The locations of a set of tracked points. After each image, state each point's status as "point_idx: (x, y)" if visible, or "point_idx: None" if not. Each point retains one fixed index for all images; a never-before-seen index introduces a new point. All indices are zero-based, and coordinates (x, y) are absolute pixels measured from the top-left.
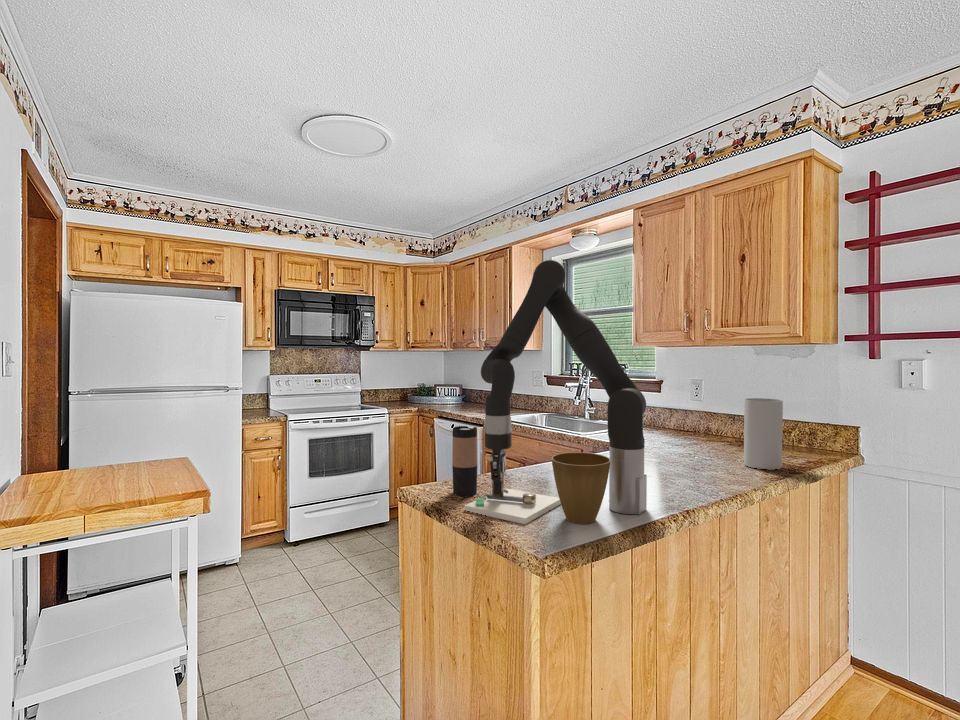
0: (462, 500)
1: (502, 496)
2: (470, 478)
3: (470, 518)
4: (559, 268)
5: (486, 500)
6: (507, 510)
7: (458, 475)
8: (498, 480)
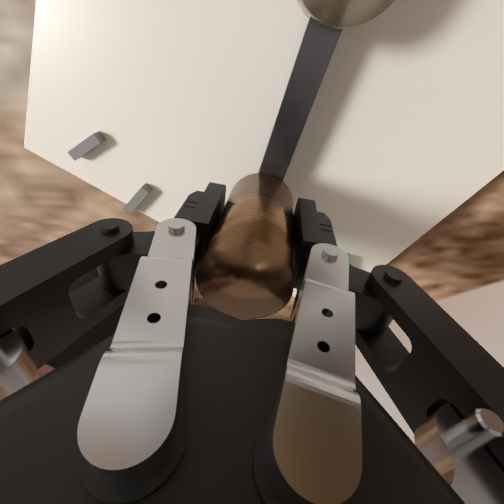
0: (200, 299)
1: (282, 181)
2: (109, 331)
3: None
4: None
5: None
6: (450, 147)
7: None
8: (368, 275)
